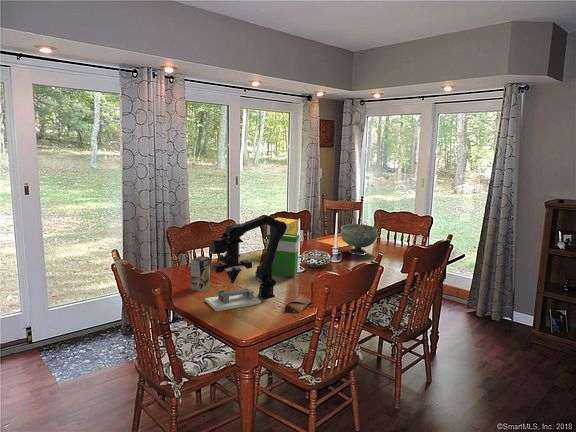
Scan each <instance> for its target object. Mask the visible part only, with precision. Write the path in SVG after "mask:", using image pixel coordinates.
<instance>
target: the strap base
mask: <svg viewBox="0 0 576 432" xmlns="http://www.w3.org/2000/svg"><path fill="white" fill-rule="evenodd" d="M246 288H247V289H248V290H249V288H248V287H242V289H246ZM217 291H218V292H217V293H218V295H217V296H212V297H205V298H204V299H205V303H206V304H208V305H209V306H210V307H211V308H212V309H213V310H214V311H215V312H221V311H222V312H223V311H226V310H232V309H238V308H243V307H248V306H249V307H250V306H254V305H260V304H261V303H262V301H261V299H260V298H258V297H257V296H255V295H254V291H251V292H249V294H242V295H235V296H229V294H228V293H226V294H223V297H222V296H221V295H220V292H225V289H223V288H222V289H218V290H217Z"/></svg>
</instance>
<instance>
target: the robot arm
mask: <svg viewBox="0 0 576 432" xmlns="http://www.w3.org/2000/svg"><path fill="white" fill-rule="evenodd" d="M265 225H266V226H267V225H269V226H270V235H271V237H270V240H269V244H268V247H267V250H266V249H265V254H264V257H263V261H262V263H261V264H260V266H259V265H257V267H256V270H255V272H254V273H255V278H256V279H257V280H258V283H259V287H258V293H257V295H258V296H260V297H261V298H262V299H270V298H275V297H276V296H275V294H274V287H275V286H276V284H277V281H276V280H274V278H273V275H272V274H273V272H272V264H273V261H274V257H275V254H276V250H277V247H278V244H279V240H280V238H281V237H282V236H283V235H284V233H285V231H286V229H287V225H286V223H285V222H282V221H279V220H275V218H273V217H271V216H270V215H268V214H262V215H261V216H259V217H256V218H253V219H250V220H247V221H245V222H242V223H233V224H229V225H227V226H226V227H225V230H224V232H223V233H222V235H221V236H220V239H219V238H218V239H215V238H214V239H212V240H211V241H212V242H211V243H210V247H209V248H210V252H211V255H217V256H218V257H217V259H218V262H219V263H218V262H217V263H213V265H212V266H211V270H212V271H214V272H215V273H217V274H218V273H224V272H225V273H226V274H227V277H228V280H229V282H230V284H234V283H235V281H236V279H237V277H238V275H239V274H240V273H241V272H242V271H243V270H242V269H241V268H245V269H246V270H247V269H252V268H253V262H251V261H250V260H248V259H243V260H240V259H239V258H240V254H239V250H240V249H239V247H240V244H239V243H243V242H244V241H243V240H242V239H241V237H243V236H244V235H245V234H246V233H247V232H249V231H253V230H255V229H257V228H260V227H262V226H265ZM218 254H219V255H218ZM239 260H240V261H239ZM220 262H221V263H220Z"/></svg>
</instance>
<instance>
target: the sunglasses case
mask: <svg viewBox="0 0 576 432" xmlns="http://www.w3.org/2000/svg"><path fill="white" fill-rule="evenodd" d="M311 301H312V300H311V299H309V298H308V297H306V296H305V295H304V294H302V293H299V295H297V296H295V297H294V298H293V299H292V300H291V301H289V302H288V303H287V304H286V305H285V307H284V310H285V311H286V310H288V311H287V312H289V311H295V312H301V311H303V309H304V308H305V307H306V306H307V305H308V304H309V303H310V302H311ZM303 312H304V311H303Z"/></svg>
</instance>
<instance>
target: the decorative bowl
mask: <svg viewBox="0 0 576 432" xmlns="http://www.w3.org/2000/svg"><path fill="white" fill-rule="evenodd" d="M340 228H341V229H340V230H341V231H340V233H341V234H340V235H341V237H340V238H341V240H342V242H344V243H346V244H347V245H348V246H351V247H354V248H351V249H349V251H348V253H349V252H351V253H354V254H364V253H366V252H367V251H366V250H365V249H363V248H367V247H370V246H371V245H373V244H374V243H375V242H376V240H377V238H378V236H379V232H378V231H379V228H378V227H376V226H372V225H368V224H363V223H361V224H360V223H348V224H344V225H342V226H340Z"/></svg>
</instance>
